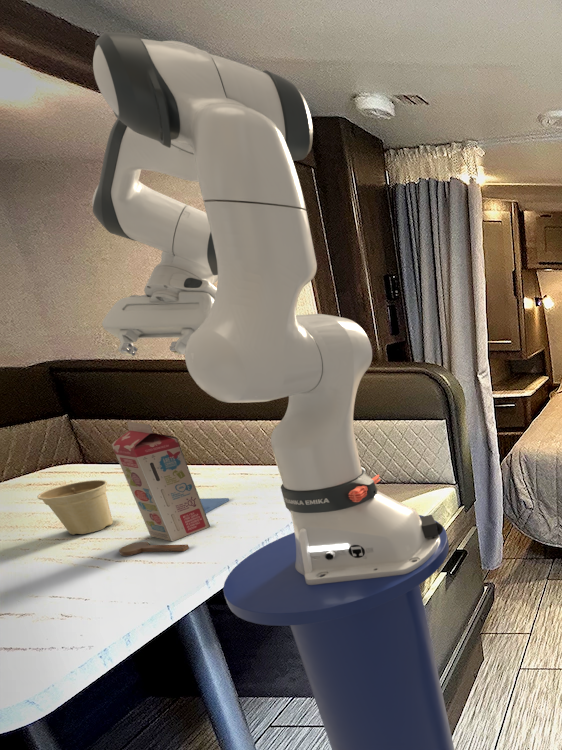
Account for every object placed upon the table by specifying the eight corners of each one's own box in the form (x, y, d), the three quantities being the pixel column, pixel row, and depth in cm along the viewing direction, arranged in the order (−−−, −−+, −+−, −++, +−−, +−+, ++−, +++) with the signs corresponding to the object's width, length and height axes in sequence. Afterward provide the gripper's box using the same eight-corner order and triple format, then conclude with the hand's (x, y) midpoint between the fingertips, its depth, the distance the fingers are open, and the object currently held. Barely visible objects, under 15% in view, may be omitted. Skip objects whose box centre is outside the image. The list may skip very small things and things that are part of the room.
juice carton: (189, 521, 103) (148, 417, 94) (210, 526, 100) (170, 420, 92) (150, 536, 97) (103, 426, 89) (171, 541, 95) (125, 429, 87)
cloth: (229, 500, 113) (228, 496, 112) (200, 515, 105) (199, 512, 105) (194, 501, 113) (193, 497, 112) (163, 516, 105) (161, 512, 105)
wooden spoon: (195, 544, 93) (194, 540, 93) (177, 555, 90) (175, 551, 89) (135, 545, 94) (133, 541, 93) (114, 556, 90) (112, 552, 89)
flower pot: (45, 535, 98) (24, 495, 95) (105, 515, 106) (88, 477, 103) (76, 542, 95) (55, 500, 92) (135, 520, 104) (118, 482, 100)
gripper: (108, 283, 94) (76, 343, 88) (216, 281, 94) (191, 340, 88) (140, 307, 100) (112, 365, 94) (241, 305, 100) (219, 362, 94)
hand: (151, 353), depth 91 cm, fingers open, 8 cm apart
